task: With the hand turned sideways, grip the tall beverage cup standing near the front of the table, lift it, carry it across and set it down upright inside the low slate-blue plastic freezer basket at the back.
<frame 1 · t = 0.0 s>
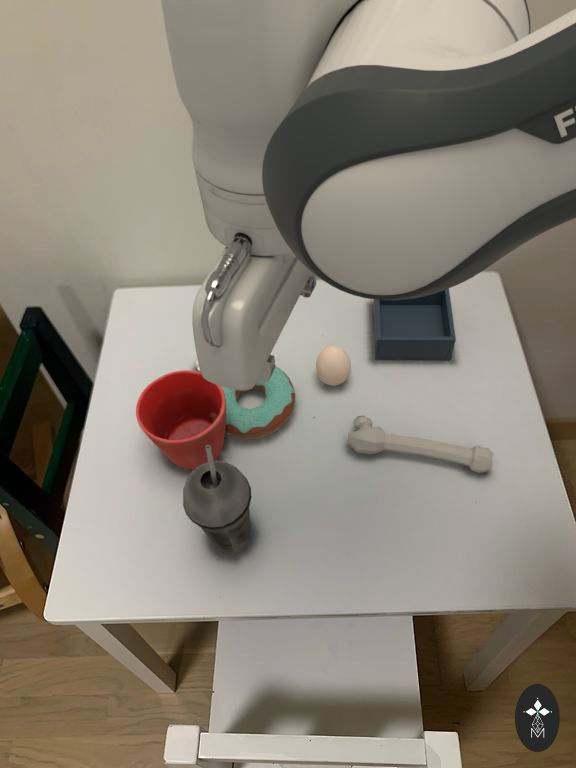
hand: (284, 330, 49), 31 cm above the table, tool pointing down, fingers open, 8 cm apart
freezer basket: (410, 331, 88), on the table
bone: (416, 456, 77), on the table
beverage cup: (232, 536, 72), on the table
toy car: (219, 360, 88), on the table
egg: (333, 380, 84), on the table
flower pot: (195, 444, 80), on the table, touching donut
donut: (253, 407, 83), on the table, touching flower pot
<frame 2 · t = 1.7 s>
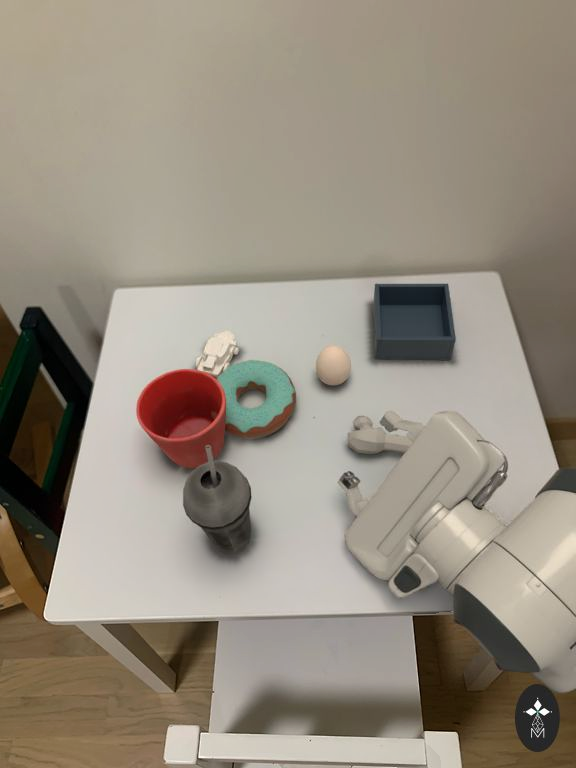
hand: (363, 446, 68), 9 cm above the table, tool horizontal, fingers open, 8 cm apart
nothing on the table moved.
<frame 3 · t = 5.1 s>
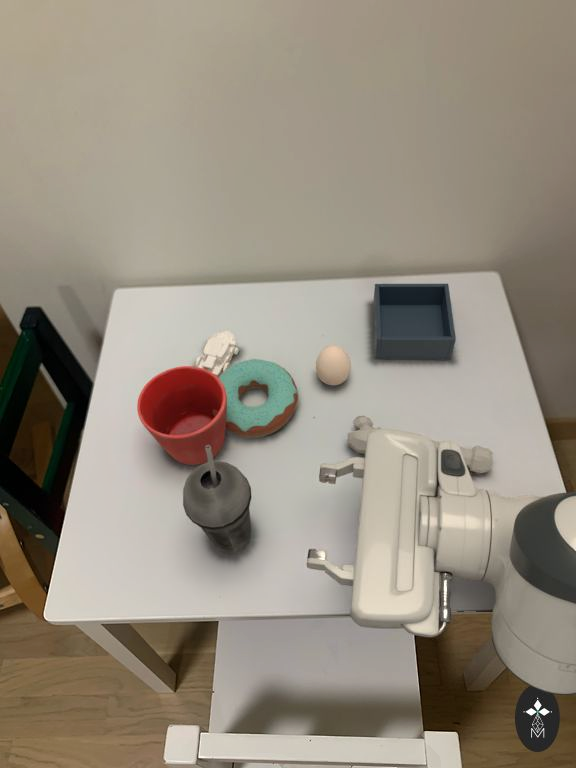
hand: (313, 513, 61), 11 cm above the table, tool horizontal, fingers open, 8 cm apart
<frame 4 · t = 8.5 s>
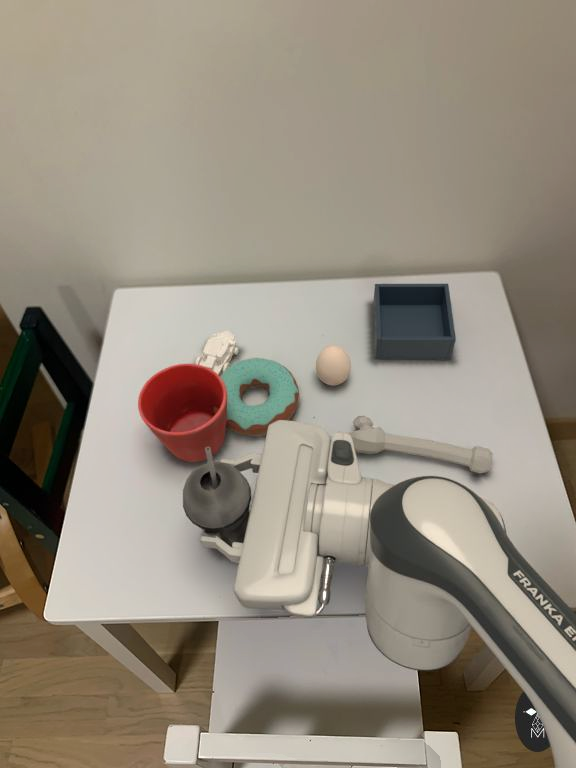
hand: (211, 500, 64), 10 cm above the table, tool horizontal, fingers closed on beverage cup, 6 cm apart
beverage cup: (232, 536, 72), on the table, touching gripper
flower pot: (197, 437, 80), on the table, touching donut
everything else where it was.
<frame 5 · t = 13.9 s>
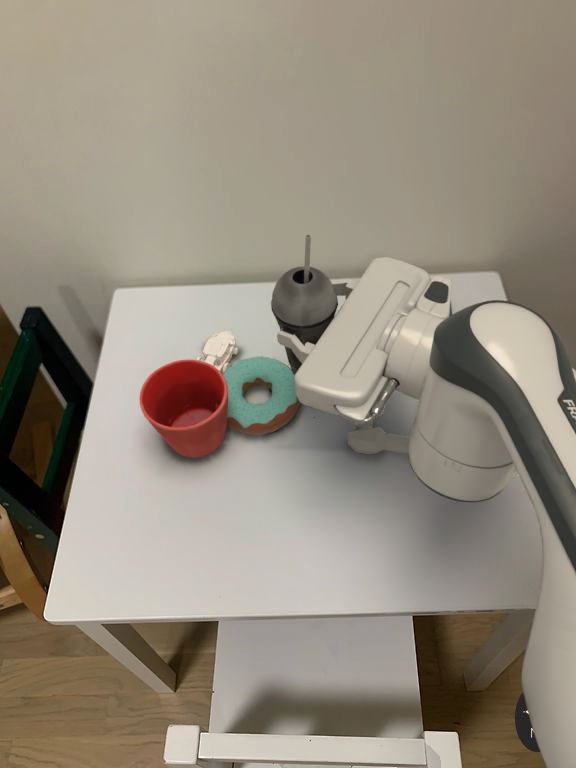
hand: (298, 308, 66), 20 cm above the table, tool horizontal, fingers closed on beverage cup, 6 cm apart
beverage cup: (308, 366, 74), point 10 cm above the table, touching gripper
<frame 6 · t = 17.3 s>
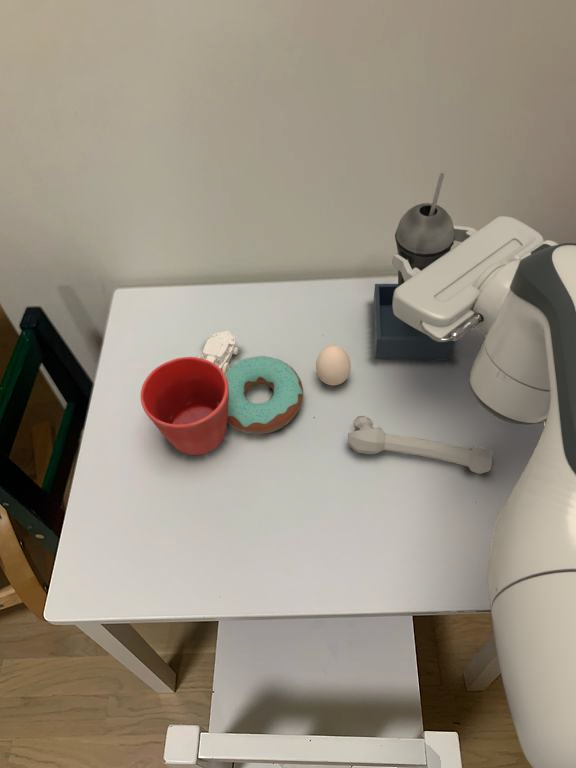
hand: (418, 241, 75), 17 cm above the table, tool horizontal, fingers closed on beverage cup, 6 cm apart
beverage cup: (415, 301, 83), point 7 cm above the table, touching gripper
when the fingers open (11 cm above the table, at t = 19.6 s): beverage cup stays where it is, resting on freezer basket.
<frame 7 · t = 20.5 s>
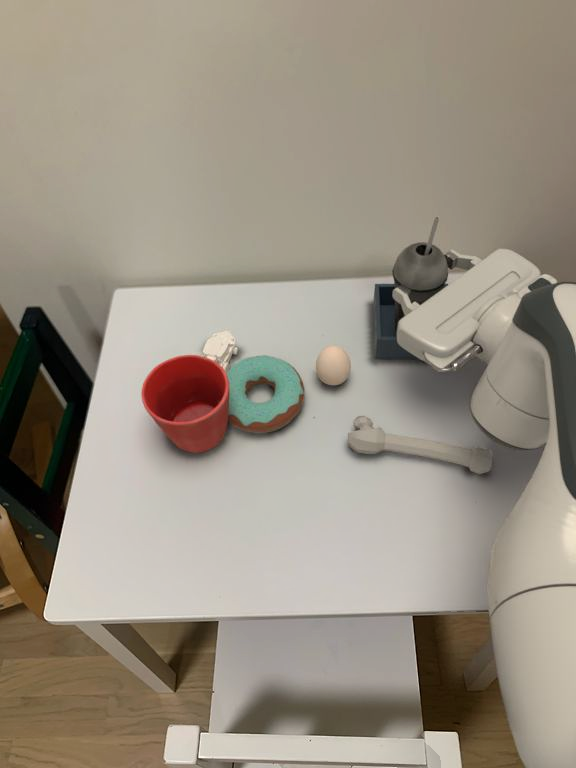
hand: (421, 272, 79), 12 cm above the table, tool horizontal, fingers open, 8 cm apart
beverage cup: (410, 330, 88), resting on freezer basket, touching gripper
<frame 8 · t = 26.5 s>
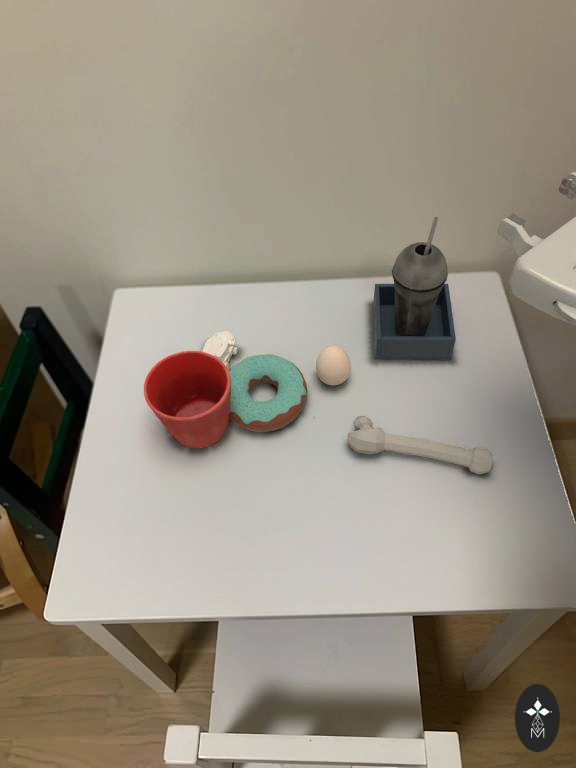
hand: (534, 201, 58), 30 cm above the table, tool horizontal, fingers open, 8 cm apart
beverage cup: (410, 330, 88), resting on freezer basket
at the end: beverage cup 0.1 cm off-centre in the freezer basket, point 0.4 cm above the freezer basket's base; beverage cup tilted 0°; the gripper is holding nothing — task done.
